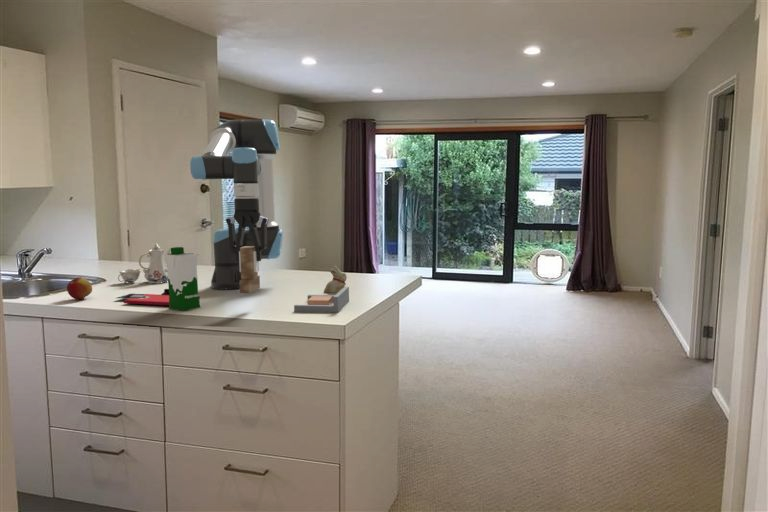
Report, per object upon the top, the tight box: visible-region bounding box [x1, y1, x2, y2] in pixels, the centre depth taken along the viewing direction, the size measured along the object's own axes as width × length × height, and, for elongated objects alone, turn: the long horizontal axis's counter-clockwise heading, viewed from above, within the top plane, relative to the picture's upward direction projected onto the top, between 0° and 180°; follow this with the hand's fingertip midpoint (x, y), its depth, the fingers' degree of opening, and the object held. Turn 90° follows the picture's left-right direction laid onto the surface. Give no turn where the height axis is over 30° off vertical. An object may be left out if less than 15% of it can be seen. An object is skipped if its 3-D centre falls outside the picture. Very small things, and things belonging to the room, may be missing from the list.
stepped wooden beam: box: [239, 246, 261, 294], centre depth 193 cm, size 4×10×14 cm, turn 172°
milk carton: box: [164, 246, 201, 312], centre depth 199 cm, size 9×9×20 cm
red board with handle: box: [116, 288, 201, 306], centre depth 212 cm, size 30×3×15 cm
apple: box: [66, 276, 93, 301], centre depth 217 cm, size 8×8×8 cm
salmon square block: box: [306, 296, 333, 305], centre depth 201 cm, size 7×7×3 cm
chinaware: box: [117, 243, 171, 284], centre depth 254 cm, size 28×17×17 cm, turn 143°
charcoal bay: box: [293, 286, 350, 313], centre depth 200 cm, size 14×18×5 cm
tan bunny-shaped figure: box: [323, 265, 348, 294], centre depth 226 cm, size 6×8×10 cm
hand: (249, 271), depth 193 cm, fingers closed on stepped wooden beam, 4 cm apart
